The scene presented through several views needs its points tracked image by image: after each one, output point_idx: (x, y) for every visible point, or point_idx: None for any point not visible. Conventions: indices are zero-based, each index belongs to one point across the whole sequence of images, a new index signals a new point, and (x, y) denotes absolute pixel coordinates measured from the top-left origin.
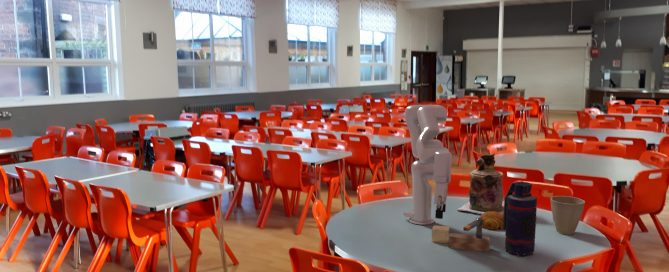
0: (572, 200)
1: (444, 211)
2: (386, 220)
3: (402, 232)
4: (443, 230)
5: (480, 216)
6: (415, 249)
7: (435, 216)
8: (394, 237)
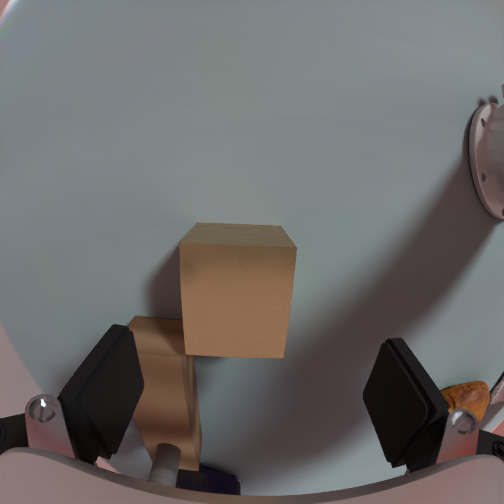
0: None
1: (365, 397)
2: (460, 17)
3: (330, 42)
4: (183, 327)
5: (467, 402)
6: (59, 159)
7: (108, 332)
8: (222, 13)
